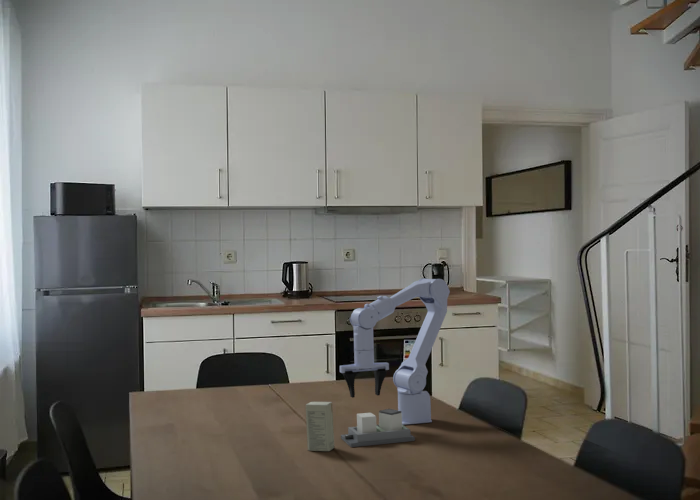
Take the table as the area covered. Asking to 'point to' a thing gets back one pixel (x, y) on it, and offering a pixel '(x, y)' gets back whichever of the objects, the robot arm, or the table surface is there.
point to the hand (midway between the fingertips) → (365, 395)
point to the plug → (390, 420)
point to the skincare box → (320, 426)
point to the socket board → (374, 433)
